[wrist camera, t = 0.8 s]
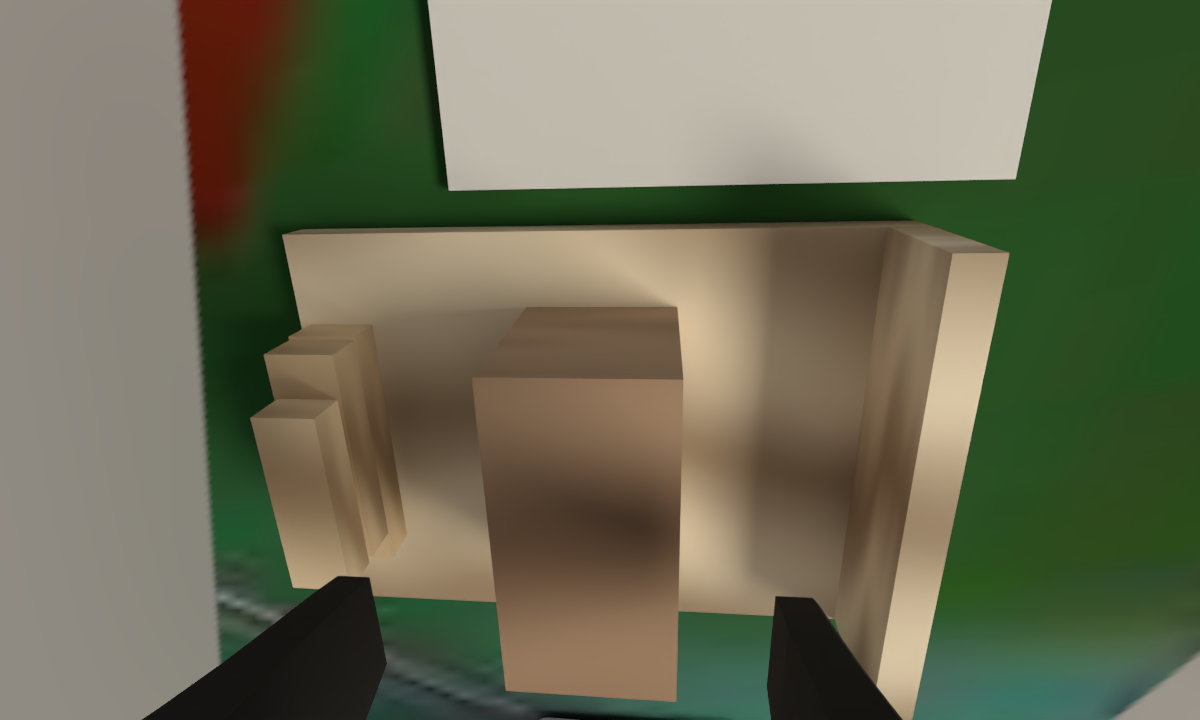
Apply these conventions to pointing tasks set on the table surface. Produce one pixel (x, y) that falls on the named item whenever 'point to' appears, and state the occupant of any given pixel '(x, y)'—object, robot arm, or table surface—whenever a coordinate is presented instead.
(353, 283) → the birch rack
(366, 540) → the offcut stack
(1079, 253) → the table surface
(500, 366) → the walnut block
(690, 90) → the grey mat
